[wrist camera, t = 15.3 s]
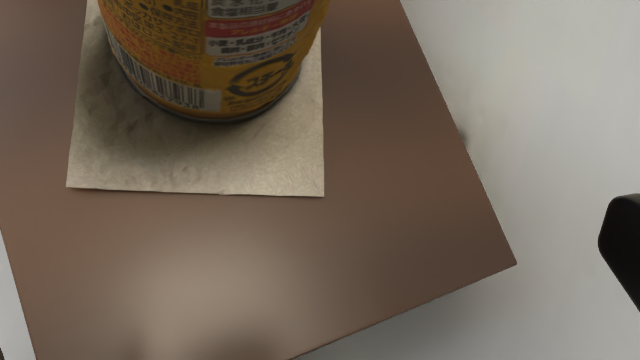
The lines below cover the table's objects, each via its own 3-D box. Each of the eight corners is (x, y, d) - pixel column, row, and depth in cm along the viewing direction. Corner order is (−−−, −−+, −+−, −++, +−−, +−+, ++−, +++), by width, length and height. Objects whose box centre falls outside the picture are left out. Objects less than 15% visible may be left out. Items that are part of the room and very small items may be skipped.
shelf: (481, 272, 20) (603, 244, 14) (82, 439, 16) (10, 502, 10) (305, -135, 23) (341, -301, 17) (-63, -75, 20) (-184, -262, 13)
